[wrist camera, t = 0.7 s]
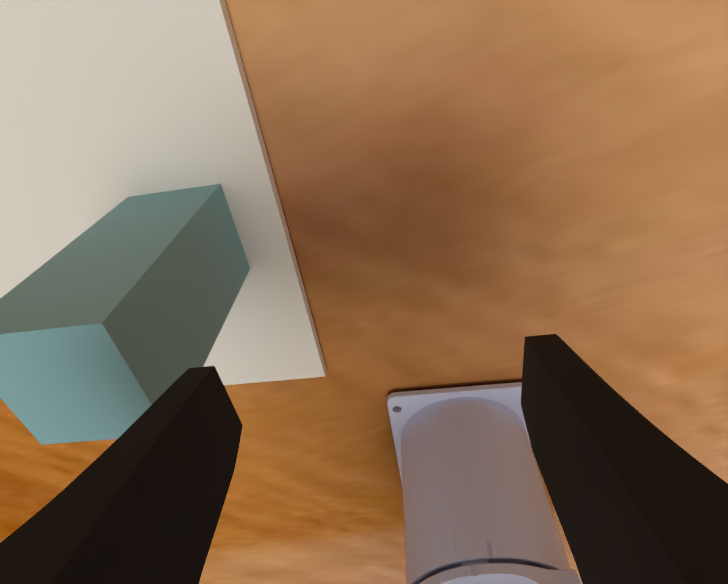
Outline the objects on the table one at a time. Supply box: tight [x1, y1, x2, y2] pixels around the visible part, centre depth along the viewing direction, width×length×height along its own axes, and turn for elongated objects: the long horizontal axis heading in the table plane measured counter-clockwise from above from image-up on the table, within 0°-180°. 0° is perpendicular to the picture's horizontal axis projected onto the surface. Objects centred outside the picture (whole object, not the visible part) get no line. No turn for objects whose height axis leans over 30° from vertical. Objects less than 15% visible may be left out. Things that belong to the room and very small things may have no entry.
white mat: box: [0, 0, 326, 385], centre depth 20 cm, size 18×16×1 cm
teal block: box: [0, 184, 250, 444], centre depth 15 cm, size 4×4×9 cm
